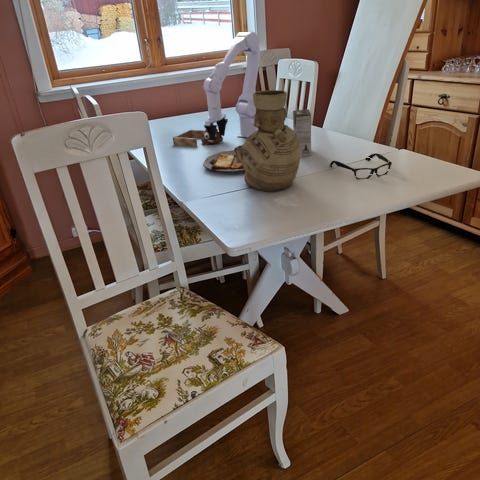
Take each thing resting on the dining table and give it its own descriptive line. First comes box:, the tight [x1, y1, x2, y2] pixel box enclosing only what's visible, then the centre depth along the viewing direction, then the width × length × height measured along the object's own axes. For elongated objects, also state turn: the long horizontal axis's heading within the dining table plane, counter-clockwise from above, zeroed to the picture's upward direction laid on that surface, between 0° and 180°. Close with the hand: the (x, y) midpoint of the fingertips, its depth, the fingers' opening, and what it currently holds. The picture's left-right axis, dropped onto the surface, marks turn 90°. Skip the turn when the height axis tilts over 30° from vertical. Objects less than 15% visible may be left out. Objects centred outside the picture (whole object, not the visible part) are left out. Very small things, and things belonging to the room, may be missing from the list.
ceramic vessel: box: [233, 89, 301, 193], centre depth 133 cm, size 19×21×30 cm
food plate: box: [202, 149, 245, 173], centre depth 162 cm, size 25×23×4 cm
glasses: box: [329, 153, 393, 180], centre depth 145 cm, size 17×18×5 cm
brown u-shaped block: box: [172, 129, 205, 148], centre depth 197 cm, size 13×15×4 cm
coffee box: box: [292, 109, 312, 157], centre depth 164 cm, size 9×6×16 cm
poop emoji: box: [200, 127, 224, 145], centre depth 191 cm, size 10×8×9 cm
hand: (217, 137), depth 190 cm, fingers open, 7 cm apart
